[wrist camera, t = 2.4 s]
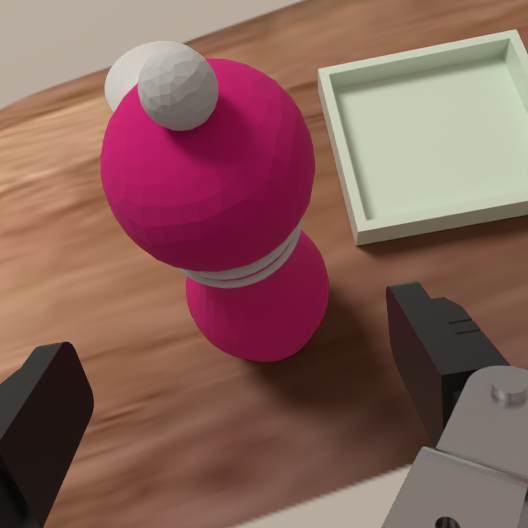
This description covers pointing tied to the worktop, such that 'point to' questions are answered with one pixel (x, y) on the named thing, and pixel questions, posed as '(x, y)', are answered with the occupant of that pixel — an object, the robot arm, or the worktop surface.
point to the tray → (430, 136)
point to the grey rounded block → (131, 70)
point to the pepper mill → (221, 198)
